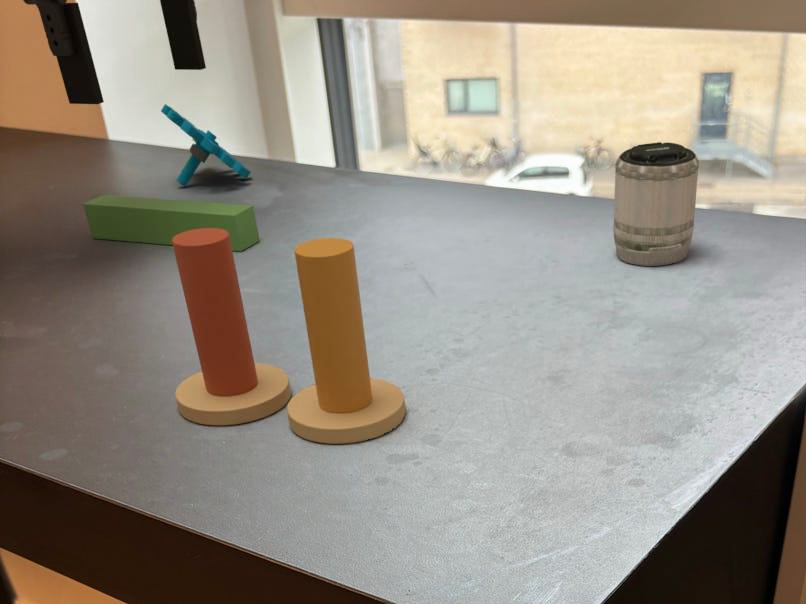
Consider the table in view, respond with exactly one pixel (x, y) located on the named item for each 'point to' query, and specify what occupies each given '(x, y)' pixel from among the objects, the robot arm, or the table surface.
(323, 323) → the ochre rod
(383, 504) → the table surface
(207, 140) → the teal blocky crossed piece
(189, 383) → the terracotta rod
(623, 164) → the camera lens
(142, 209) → the green bar
